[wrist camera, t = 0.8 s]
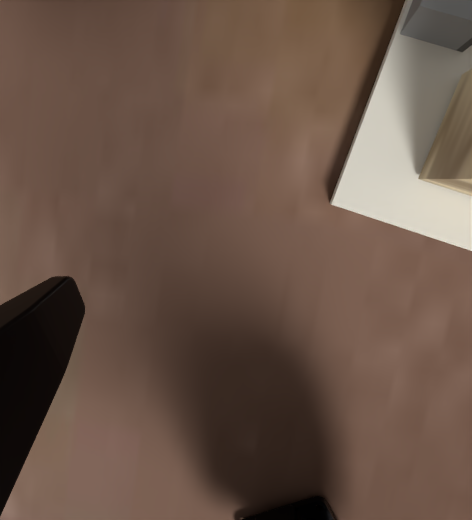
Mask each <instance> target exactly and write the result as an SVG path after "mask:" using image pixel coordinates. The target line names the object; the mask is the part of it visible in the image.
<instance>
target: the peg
mask: <svg viewBox="0 0 472 520" xmlns="http://www.w3.org/2000/svg"><path fill="white" fill-rule="evenodd" d="M418 179H420V180H423V181H426V182H429V183H432V184H435V185H438V186H441V187H445V188H448V189H451V190H454V191H457V192H460V193H463V194H466V195H469V196H472V69H470V70H469V71H467V72H465V73H464V74H462V76H461V78H460V80H459V83H458V85H457V87H456V90H455V92H454V95H453V97H452V99H451V102H450V104H449V106H448V109H447V111H446V114H445V116H444V118H443V121H442V123H441V125H440V128H439V130H438V133H437V135H436V137H435V140H434V142H433V144H432V147H431V149H430V152H429V154H428V156H427V159H426V161H425V163H424V166H423V168H422V170H421V173H420V175H419V178H418Z"/></svg>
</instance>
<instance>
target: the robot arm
mask: <svg viewBox="0 0 472 520" xmlns="http://www.w3.org/2000/svg"><path fill="white" fill-rule="evenodd" d="M84 314H85V305H84V302H83V300H82V297H81V295H80V292H79V290H78V287H77V285H76V283H75V281H74V279H73V278H72V277H69V276H55V277H51V278H49V279H48V280H46V281H44V282H42V283H40V284H38V285H37V286H35V287H33V288H31V289H29V290H27V291H26V292H24V293H22V294H20V295H18V296H16V297H15V298H13V299H11V300H9V301H7V302H5V303H4V304H2V305H0V516H1V514H2V511H3V509H4V507H5V505H6V503H7V500H8V498H9V496H10V494H11V491H12V489H13V487H14V485H15V483H16V480H17V478H18V476H19V474H20V472H21V469H22V467H23V465H24V463H25V460H26V458H27V456H28V454H29V452H30V449H31V447H32V445H33V443H34V441H35V438H36V436H37V434H38V432H39V430H40V427H41V425H42V423H43V421H44V418H45V416H46V414H47V412H48V410H49V407H50V405H51V403H52V401H53V399H54V396H55V394H56V392H57V390H58V387H59V385H60V383H61V381H62V378H63V376H64V374H65V371H66V368H67V366H68V363H69V360H70V357H71V354H72V351H73V348H74V345H75V342H76V339H77V335H78V332H79V329H80V326H81V323H82V320H83V317H84ZM317 504H320V505H321V506H316V505H317ZM242 520H336V519H335V517H334V515H333V514H332V512H331V510H330V508H329V506H328V504H327V502H326V500H325V499H324V498H323V497H320V496H315V497H312V498H309V499H306V500H303V501H299V502H296V503H293V504H290V505H287V506H284V507H280V508H277V509H274V510H271V511H268V512H264V513H261V514H258V515H255V516H252V517H249V518H245V519H242Z"/></svg>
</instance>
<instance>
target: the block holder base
mask: <svg viewBox="0 0 472 520" xmlns="http://www.w3.org/2000/svg"><path fill="white" fill-rule="evenodd" d="M470 69H472V0H405V3H404V6H403V8H402V11H401V14H400V16H399V19H398V22H397V24H396V27H395V30H394V32H393V35H392V38H391V40H390V43H389V46H388V48H387V51H386V54H385V56H384V59H383V62H382V64H381V67H380V70H379V72H378V75H377V78H376V81H375V83H374V86H373V89H372V91H371V94H370V97H369V99H368V102H367V105H366V107H365V110H364V113H363V115H362V118H361V121H360V123H359V126H358V129H357V131H356V134H355V137H354V139H353V142H352V145H351V147H350V150H349V153H348V155H347V158H346V161H345V163H344V166H343V169H342V171H341V174H340V177H339V179H338V182H337V185H336V187H335V190H334V193H333V195H332V198H331V201H330V204H332V205H335V206H338V207H341V208H344V209H347V210H350V211H353V212H356V213H359V214H362V215H365V216H368V217H371V218H374V219H377V220H380V221H383V222H386V223H389V224H392V225H395V226H398V227H401V228H404V229H407V230H410V231H413V232H416V233H419V234H422V235H425V236H428V237H431V238H434V239H437V240H440V241H443V242H446V243H449V244H452V245H455V246H458V247H461V248H464V249H468V250H471V251H472V196H469V195H466V194H463V193H460V192H457V191H454V190H451V189H448V188H445V187H441V186H438V185H435V184H432V183H429V182H426V181H423V180H420V179H418V178H419V175H420V173H421V170H422V168H423V166H424V163H425V161H426V159H427V156H428V154H429V152H430V149H431V147H432V144H433V142H434V140H435V137H436V135H437V133H438V130H439V128H440V125H441V123H442V121H443V118H444V116H445V114H446V111H447V109H448V106H449V104H450V102H451V99H452V97H453V95H454V92H455V90H456V87H457V85H458V83H459V80H460V78H461V76H462V74H464V73H465V72H467V71H469V70H470Z"/></svg>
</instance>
